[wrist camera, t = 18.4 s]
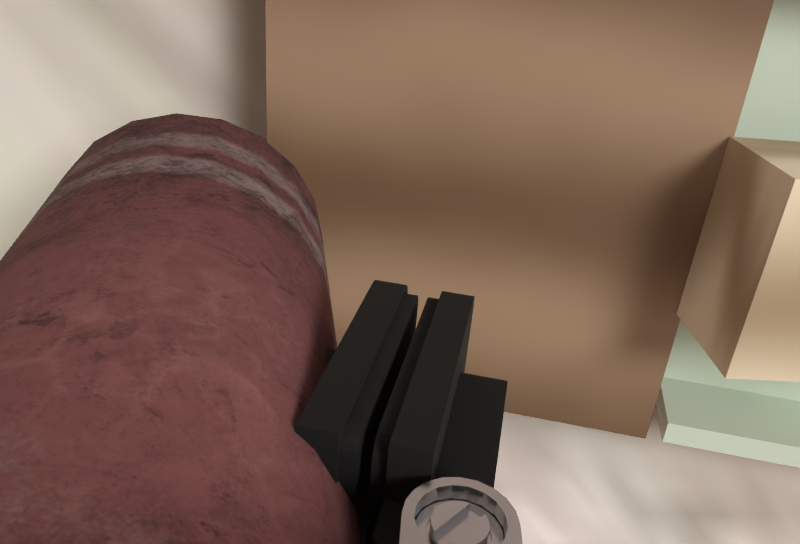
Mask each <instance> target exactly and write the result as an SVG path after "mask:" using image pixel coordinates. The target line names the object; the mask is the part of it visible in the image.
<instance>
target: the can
mask: <svg viewBox="0 0 800 544" xmlns="http://www.w3.org/2000/svg"><path fill="white" fill-rule="evenodd" d="M327 348H331V349H337V341H336V333H335V326H334V319H333V311H332V304H331V297H330V290H329V282H328V275H327V268H326V260H325V253H324V246H323V239H322V233H321V228H320V223H319V218H318V213H317V209H316V204H315V199H314V198H313V196H312V194H311V193H310V191H309V189H308V188H307V186H306V184H305V183H304V181H303V179H302V178H301V176H300V174H299V173H298V171H297V169H296V168H295V166H294V165H293V164H292V163H291V162H290V161H288V160H287V159H286V158H285V157H284V156H283V155H282V154H280V153H279V152H278V151H277V150H276V149H275V148H274V147H272V146H271V145H270V144H269V143H268V142H267V141H266V140H264V139H263V138H262V137H260V136H257V135H255V134H253V133H251V132H249V131H246V130H244V129H242V128H240V127H237V126H235V125H233V124H231V123H229V122H226V121H224V120H222V119H214V118H207V117H199V116H191V115H184V114H171V115H165V116H160V117H154V118H148V119H142V120H136V121H132V122H130V123H128V124H126V125H124V126H122V127H121V128H119V129H117V130H115V131H113V132H111V133H109V134H108V135H106V136H104V137H102V138H100V139H98V140H96V141H95V142H94V143H93V144H92V145H91V146H90V147H89V148H88V149H87V150H86V152H85V153H84V154H83V155H82V156H81V157H80V158H79V160H78V161H77V162H76V163H75V164H74V165H73V166H72V168H71V169H70V170H69V171H68V172H67V173H66V175H65V176H64V177H63V179H62V180H61V181H60V183H59V184H58V185H57V187H56V188H55V189H54V191H53V192H52V193H51V195H50V196H49V197H48V198H47V200H46V201H45V202H44V204H43V205H42V206H41V208H40V209H39V210H38V212H37V213H36V214H35V216H34V217H33V218H32V220H31V221H30V222H29V224H28V225H27V226H26V228H25V229H24V230H23V232H22V233H21V234H20V235H19V237H18V238H17V239H16V241H15V242H14V243H13V245H12V246H11V247H10V249H9V250H8V251H7V253H6V254H5V255H4V257H3V258H2V259H1V261H0V544H364V538H363V530H362V526H361V523H360V520H359V518H358V515H357V512H356V509H355V507H354V504H353V503H352V501H351V500H350V498H349V496H348V495H347V493H346V492H345V490H344V488H343V487H342V485H341V484H340V482H339V481H338V482H337V483H335V481H334V480H333V478H332V476H331V475H330V473H329V472H328V470H327V469H326V467H325V465H324V464H323V462H322V461H321V459H320V458H319V456H318V454H317V453H316V451H315V450H314V449H313V448H312V447H311V446H310V445H309V444H308V443H307V442H306V441H305V440H303V439H302V438H301V437H300V436H299V435H298V434H297V433H296V432H295V424H296V422H297V420H298V418H299V417H300V415H301V413H302V411H303V409H304V407H305V406H306V404H307V402H308V400H309V398H310V396H311V395H312V393H313V391H314V389H315V387H316V385H317V384H318V382H319V380H320V378H321V376H322V374H323V373H324V371H325V369H326V367H327V365H326V356H325V352H326V349H327Z"/></svg>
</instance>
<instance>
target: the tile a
mask: <svg viewBox="0 0 800 544" xmlns="http://www.w3.org/2000/svg"><path fill="white" fill-rule="evenodd" d="M677 315H678V316H679V318H680V319H681V320H682V322H683V323H684V324H685V326H686V327H687V328H688V330H689V331H690V332H691V334H692V335H693V336H694V338H695V339H696V340H697V342H698V343H699V344H700V346H701V347H702V348H703V350H704V351H705V352H706V354H707V355H708V356H709V358H710V359H711V360H712V362H713V363H714V364H715V366H716V367H717V368H718V370H719V371H720V372H721V374H722V375H723V376H724V377H725V378H726V379H748V380H770V381H792V382H800V142H798V141H784V140H770V139H757V138H743V137H730V138H729V141H728V144H727V148H726V151H725V154H724V158H723V161H722V164H721V168H720V171H719V174H718V178H717V181H716V184H715V188H714V191H713V194H712V198H711V201H710V204H709V208H708V211H707V214H706V218H705V221H704V224H703V228H702V231H701V234H700V238H699V241H698V244H697V248H696V251H695V254H694V258H693V261H692V264H691V268H690V271H689V274H688V278H687V281H686V284H685V288H684V291H683V294H682V298H681V301H680V304H679V308H678V311H677Z"/></svg>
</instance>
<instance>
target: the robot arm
mask: <svg viewBox="0 0 800 544" xmlns="http://www.w3.org/2000/svg"><path fill="white" fill-rule="evenodd" d="M474 299H475V296H470V295H464V294H458V293H452V292H446V291H442V292H441V295H440V298H439V299H436V298H430V297H428V298H427V301H426V303H425V306H424V309H423V311H422V314H421V317H420V319H419V322H418V325H417V327H416V320H417V310H418V295H412V294H408V287H407V285H404V284H398V283H392V282H386V281H380V280H374V281H373V283H372V285H371V287H370V288H369V290H368V292H367V294H366V296H365V298H364V299H363V301H362V303H361V305H360V307H359V309H358V310H357V312H356V314H355V316H354V318H353V320H352V321H351V323H350V325H349V327H348V329H347V331H346V332H345V334H344V336H343V338H342V340H341V341H340V343H339V345H338V347H337V349H331V348H327V349H326V352H325V356H326V365H327V367H326V369H325V371H324V373H323V374H322V376H321V378H320V380H319V382H318V384H317V385H316V387H315V389H314V391H313V393H312V395H311V396H310V398H309V400H308V402H307V404H306V406H305V407H304V409H303V411H302V413H301V415H300V417H299V418H298V420H297V422H296V424H295V432H296V433H297V434H298V435H299V436H300V437H301V438H302V439H303V440H305V441H306V442H307V443H308V444H309V445H310V446H311V447H312V448H313V449H314V450H315V451H316V453H317V454H318V456H319V458H320V459H321V461H322V462H323V464H324V465H325V467H326V469H327V470H328V472H329V473H330V475H331V476H332V478H333V480H334V481H335V483H337V482H338V481H339V482H340V484H341V485H342V487H343V488H344V490H345V492H346V493H347V495H348V496H349V498H350V500H351V501H352V503H353V504H354V507H355V509H356V512H357V515H358V518H359V520H360V523H361V526H362V530H363V538H364V544H522V535H521V527H520V522H519V519H518V516H517V513H516V510H515V509H514V508H513V506H512V505H511V504H510V502H509V501H508V500H507V498H505V497H504V496H503V495H502V494H500V493H499V492H498V491H496V490H495V489H494V481H495V473H496V466H497V458H498V451H499V443H500V436H501V428H502V421H503V413H504V406H505V398H506V391H507V383H508V381H506V380H500V379H495V378H489V377H484V376H478V375H473V374H467V373H464V372H465V365H466V358H467V350H468V343H469V336H470V329H471V322H472V315H473V307H474Z"/></svg>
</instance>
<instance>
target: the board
mask: <svg viewBox="0 0 800 544" xmlns="http://www.w3.org/2000/svg"><path fill="white" fill-rule="evenodd" d="M773 3H774V0H265V23H266V123H267V142H268V143H269V144H270V145H271V146H272V147H274V148H275V149H276V150H277V151H278V152H279V153H280V154H282V155H283V156H284V157H285V158H286V159H287V160H288V161H290V162H291V163H292V164H293V165H294V166H295V168H296V169H297V171H298V173H299V174H300V176H301V178H302V179H303V181H304V183H305V184H306V186H307V188H308V189H309V191H310V193H311V194H312V196H313V198H314V199H315V204H316V209H317V213H318V218H319V223H320V228H321V233H322V239H323V246H324V253H325V260H326V268H327V275H328V282H329V290H330V297H331V304H332V311H333V319H334V326H335V333H336V341H337V347H338V345H339V343H340V341H341V340H342V338H343V336H344V334H345V332H346V331H347V329H348V327H349V325H350V323H351V321H352V320H353V318H354V316H355V314H356V312H357V310H358V309H359V307H360V305H361V303H362V301H363V299H364V298H365V296H366V294H367V292H368V290H369V288H370V287H371V285H372V283H373V281H374V280H380V281H386V282H392V283H398V284H404V285H407V287H408V294H412V295H418V310H417V320H416V327H417V325H418V322H419V319H420V317H421V314H422V311H423V309H424V306H425V303H426V301H427V298H428V297H430V298H436V299H439V298H440V295H441V292H442V291H446V292H452V293H458V294H464V295H470V296H475V299H474V307H473V315H472V322H471V329H470V336H469V343H468V350H467V358H466V365H465V372H464V373H467V374H473V375H478V376H484V377H489V378H495V379H500V380H506V381H508V383H507V391H506V398H505V406H504V412H509V413H515V414H520V415H525V416H530V417H536V418H541V419H546V420H551V421H557V422H562V423H567V424H572V425H578V426H583V427H588V428H593V429H599V430H604V431H609V432H614V433H620V434H625V435H630V436H635V437H641V438H646V435H647V431H648V428H649V424H650V421H651V418H652V414H653V411H654V407H655V404H656V401H657V397H658V394H659V390H660V387H661V384H662V380H663V377H664V373H665V370H666V367H667V363H668V360H669V356H670V353H671V350H672V346H673V343H674V339H675V336H676V333H677V329H678V326H679V322H680V318H679V316H678V315H677V311H678V308H679V304H680V301H681V298H682V294H683V291H684V288H685V284H686V281H687V278H688V274H689V271H690V268H691V264H692V261H693V258H694V254H695V251H696V248H697V244H698V241H699V238H700V234H701V231H702V228H703V224H704V221H705V218H706V214H707V211H708V208H709V204H710V201H711V198H712V194H713V191H714V188H715V184H716V181H717V178H718V174H719V171H720V168H721V164H722V161H723V158H724V154H725V151H726V148H727V144H728V141H729V138H730V137H734V135H735V132H736V128H737V125H738V122H739V118H740V115H741V111H742V108H743V105H744V101H745V98H746V94H747V91H748V88H749V84H750V81H751V77H752V74H753V71H754V67H755V64H756V60H757V57H758V54H759V50H760V47H761V43H762V40H763V37H764V33H765V30H766V26H767V23H768V20H769V16H770V13H771V9H772V6H773Z"/></svg>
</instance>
